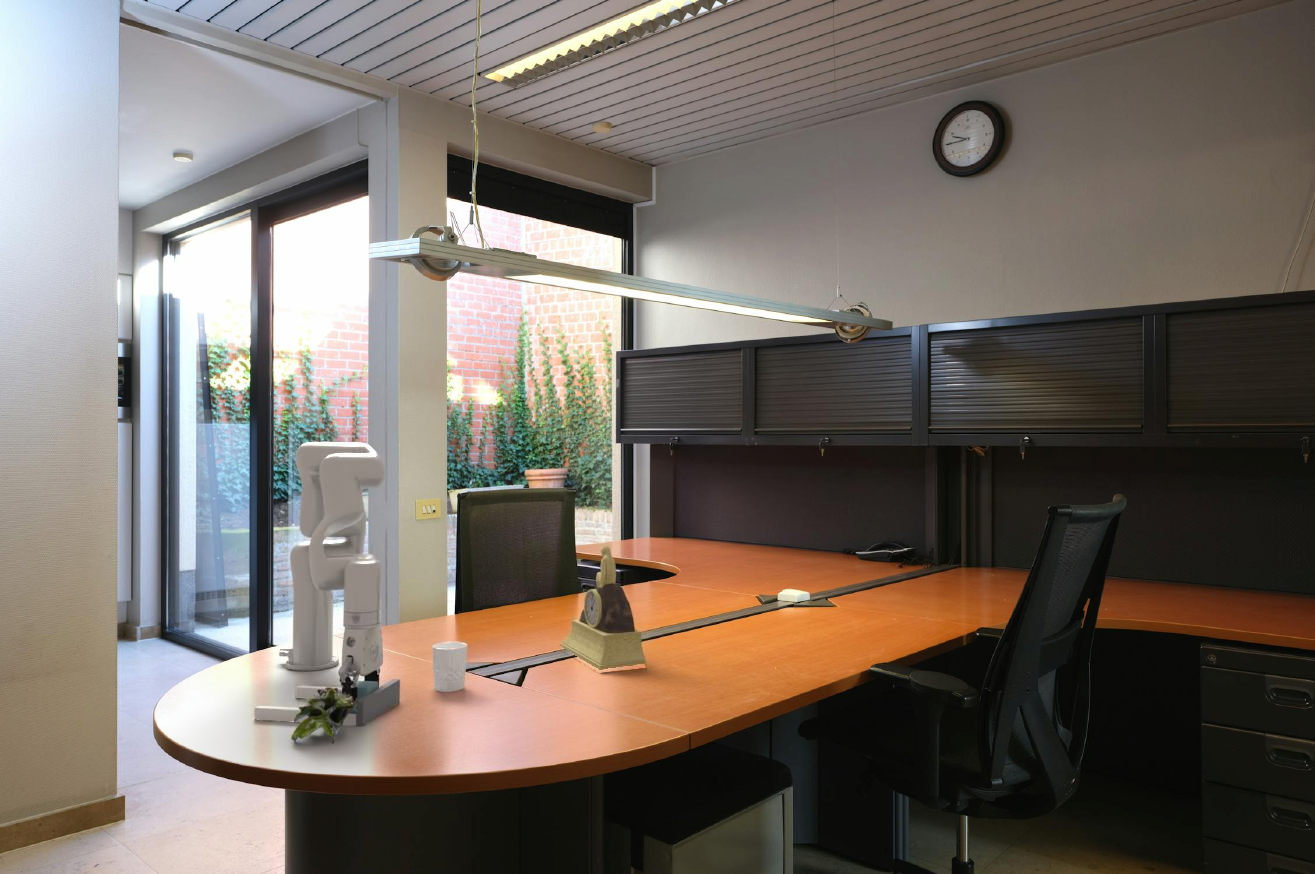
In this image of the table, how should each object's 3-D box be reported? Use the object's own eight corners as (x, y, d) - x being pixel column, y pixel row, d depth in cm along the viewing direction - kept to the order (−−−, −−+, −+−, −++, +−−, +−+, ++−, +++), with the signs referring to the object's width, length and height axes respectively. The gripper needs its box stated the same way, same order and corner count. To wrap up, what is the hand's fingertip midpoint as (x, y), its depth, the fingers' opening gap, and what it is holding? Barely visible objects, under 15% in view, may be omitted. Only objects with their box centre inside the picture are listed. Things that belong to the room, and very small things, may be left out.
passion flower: (326, 759, 173) (359, 702, 179) (343, 765, 165) (377, 704, 170) (275, 734, 169) (311, 676, 174) (290, 738, 160) (327, 677, 166)
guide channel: (254, 720, 180) (254, 695, 180) (299, 696, 197) (300, 674, 197) (363, 726, 176) (363, 701, 177) (399, 702, 193) (399, 679, 193)
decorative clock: (559, 650, 244) (561, 542, 245) (602, 646, 250) (603, 540, 251) (599, 674, 219) (601, 553, 220) (646, 668, 225) (647, 551, 226)
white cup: (432, 694, 200) (433, 650, 200) (431, 685, 207) (431, 642, 208) (467, 691, 202) (468, 648, 202) (465, 682, 210) (466, 640, 210)
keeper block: (343, 715, 184) (344, 687, 184) (355, 708, 188) (355, 680, 189) (366, 717, 183) (366, 688, 183) (377, 710, 188) (377, 681, 188)
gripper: (359, 627, 177) (357, 713, 177) (396, 611, 194) (395, 688, 194) (324, 626, 178) (322, 710, 178) (364, 609, 195) (363, 686, 195)
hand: (360, 699), depth 186 cm, fingers open, 9 cm apart
